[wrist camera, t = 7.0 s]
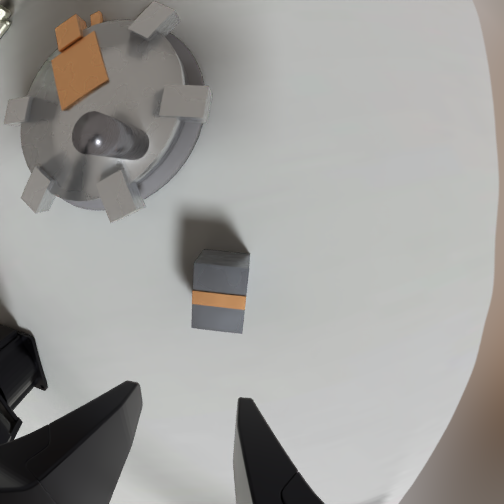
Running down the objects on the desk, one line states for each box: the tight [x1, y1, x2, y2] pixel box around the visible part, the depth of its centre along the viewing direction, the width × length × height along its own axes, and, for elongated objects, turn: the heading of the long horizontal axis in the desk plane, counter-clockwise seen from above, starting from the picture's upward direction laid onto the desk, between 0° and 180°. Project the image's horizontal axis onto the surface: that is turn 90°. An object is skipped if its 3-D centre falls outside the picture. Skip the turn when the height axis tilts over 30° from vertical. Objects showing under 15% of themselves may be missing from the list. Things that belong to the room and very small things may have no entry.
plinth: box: [62, 11, 205, 210], centre depth 17 cm, size 16×14×1 cm
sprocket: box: [4, 1, 212, 223], centre depth 13 cm, size 14×15×7 cm
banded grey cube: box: [192, 249, 250, 334], centre depth 18 cm, size 4×3×4 cm
